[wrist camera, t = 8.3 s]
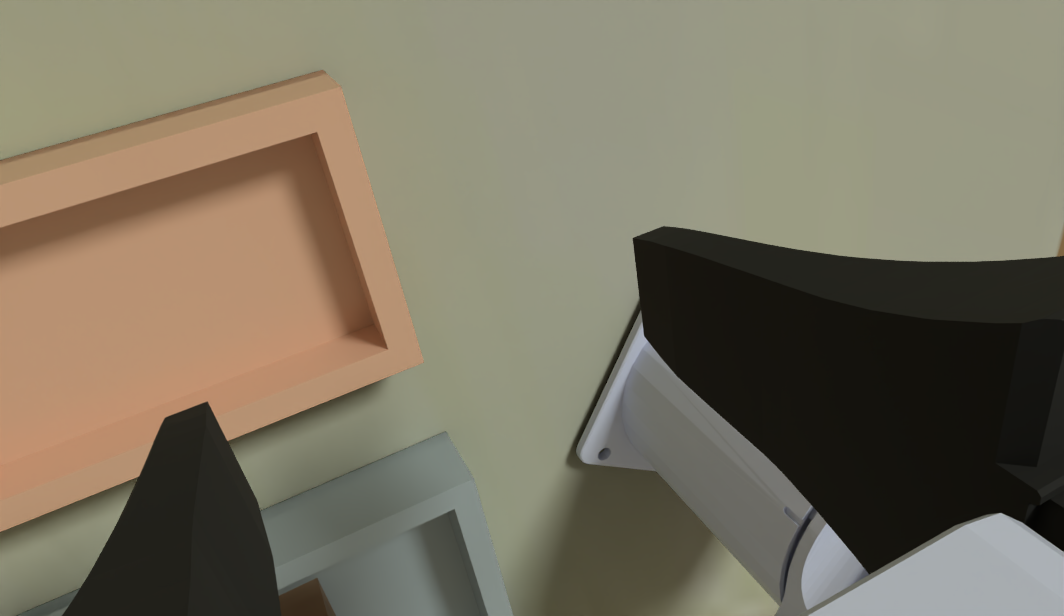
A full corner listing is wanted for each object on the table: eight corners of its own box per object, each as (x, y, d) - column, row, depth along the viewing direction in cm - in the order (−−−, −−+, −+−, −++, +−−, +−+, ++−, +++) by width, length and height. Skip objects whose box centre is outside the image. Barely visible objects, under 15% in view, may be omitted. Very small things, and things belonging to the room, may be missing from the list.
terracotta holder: (323, 69, 19) (340, 86, 17) (403, 329, 23) (424, 362, 21) (-299, 244, 16) (-348, 285, 14) (-76, 513, 20) (-94, 569, 18)
